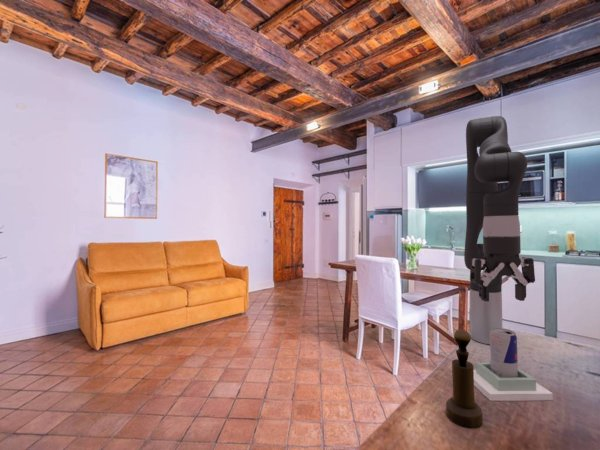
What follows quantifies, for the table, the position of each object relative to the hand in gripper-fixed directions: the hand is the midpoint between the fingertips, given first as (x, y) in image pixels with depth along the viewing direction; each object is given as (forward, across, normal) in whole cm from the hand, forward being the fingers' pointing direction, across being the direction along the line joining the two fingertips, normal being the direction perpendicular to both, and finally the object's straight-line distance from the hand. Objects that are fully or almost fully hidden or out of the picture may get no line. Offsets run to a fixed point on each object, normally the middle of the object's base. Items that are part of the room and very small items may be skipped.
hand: (502, 300), depth 70 cm
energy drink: (+20, 0, 0) cm, 20 cm away
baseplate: (+21, 0, 0) cm, 21 cm away
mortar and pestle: (+21, +16, +11) cm, 29 cm away
